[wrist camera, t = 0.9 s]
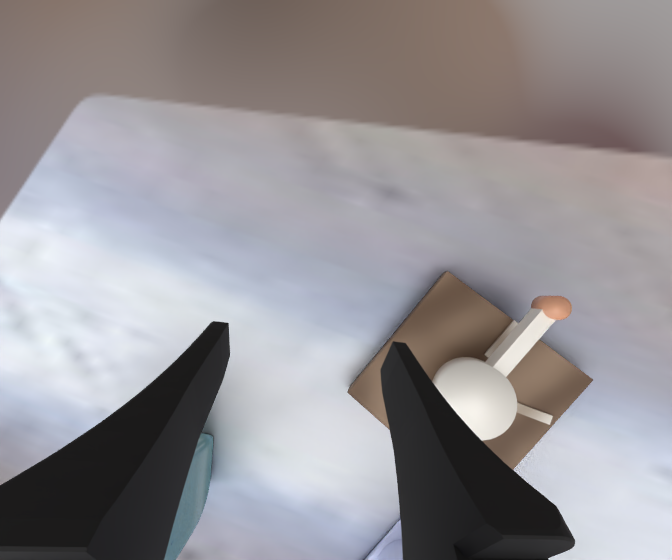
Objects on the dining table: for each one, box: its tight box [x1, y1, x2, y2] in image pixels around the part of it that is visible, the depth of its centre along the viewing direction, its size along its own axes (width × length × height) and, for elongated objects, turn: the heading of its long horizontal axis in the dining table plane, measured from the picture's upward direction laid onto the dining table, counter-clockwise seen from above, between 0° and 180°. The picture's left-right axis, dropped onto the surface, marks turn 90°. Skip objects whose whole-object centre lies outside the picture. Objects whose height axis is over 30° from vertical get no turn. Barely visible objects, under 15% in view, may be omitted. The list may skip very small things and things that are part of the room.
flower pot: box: [164, 433, 213, 560], centre depth 26 cm, size 9×9×9 cm
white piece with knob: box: [432, 296, 572, 441], centre depth 23 cm, size 13×6×2 cm, turn 141°
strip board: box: [347, 271, 593, 470], centre depth 25 cm, size 15×15×3 cm
